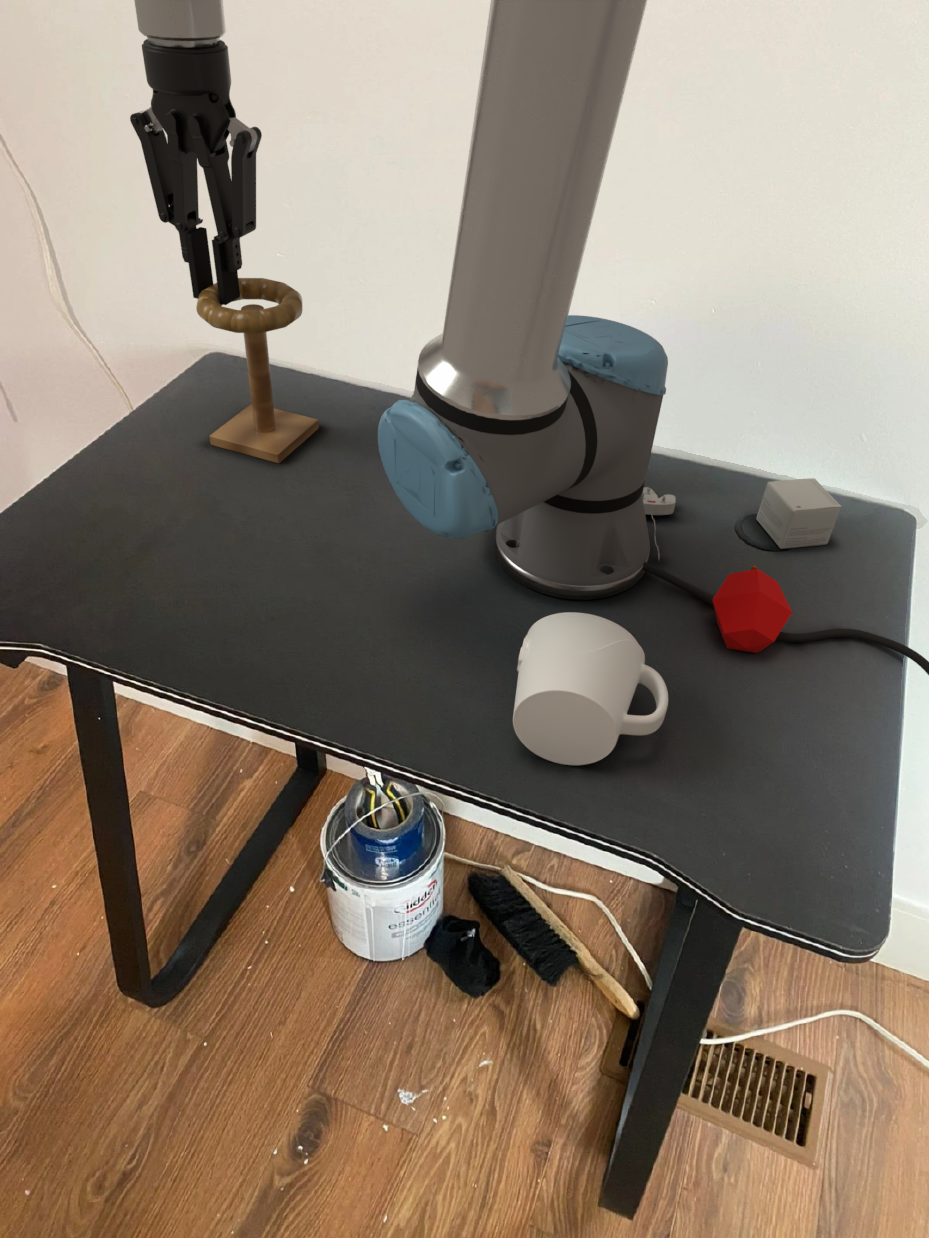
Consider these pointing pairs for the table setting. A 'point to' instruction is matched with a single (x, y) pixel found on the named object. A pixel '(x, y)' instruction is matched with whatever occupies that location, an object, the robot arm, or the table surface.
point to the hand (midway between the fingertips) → (216, 296)
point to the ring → (252, 319)
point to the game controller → (657, 505)
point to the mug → (581, 688)
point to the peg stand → (262, 412)
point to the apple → (750, 610)
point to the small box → (798, 513)
